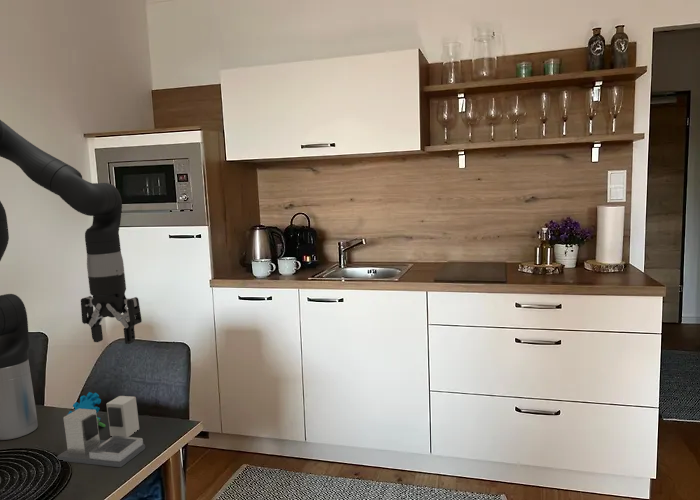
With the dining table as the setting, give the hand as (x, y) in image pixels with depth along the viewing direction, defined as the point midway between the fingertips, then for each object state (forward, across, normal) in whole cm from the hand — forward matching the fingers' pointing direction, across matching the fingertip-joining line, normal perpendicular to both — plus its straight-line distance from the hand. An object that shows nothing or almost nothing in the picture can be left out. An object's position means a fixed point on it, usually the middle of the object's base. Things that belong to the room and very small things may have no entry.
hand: (114, 342), depth 127 cm
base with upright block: (+22, +2, -10) cm, 24 cm away
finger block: (+22, 0, 0) cm, 22 cm away
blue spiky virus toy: (+22, -12, +1) cm, 25 cm away
